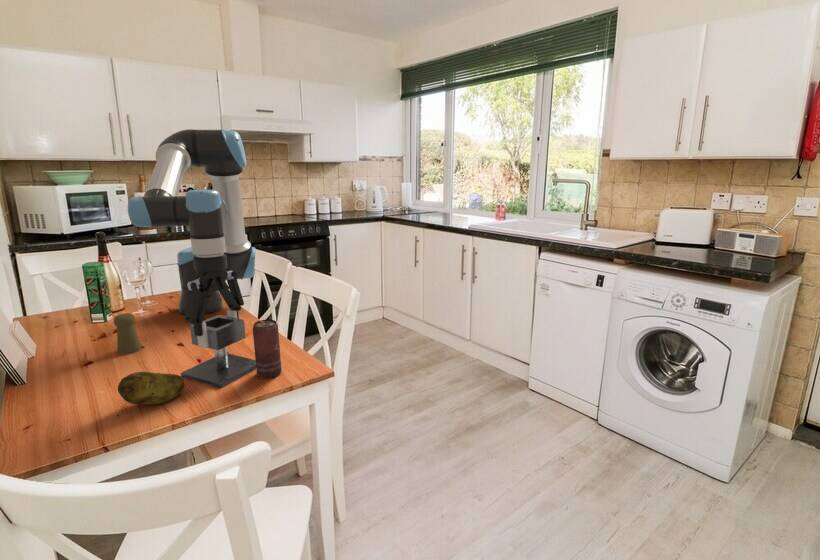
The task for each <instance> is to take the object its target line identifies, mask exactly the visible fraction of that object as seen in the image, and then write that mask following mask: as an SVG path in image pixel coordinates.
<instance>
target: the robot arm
mask: <svg viewBox="0 0 820 560" xmlns="http://www.w3.org/2000/svg"><path fill="white" fill-rule="evenodd" d="M155 160H156V163H155V166H154V168H153V171H152V173H151V176H150V178H149V182H148V184H147V187H146V190H145V191H144V192H145V193H144V195H143V196H141V195H139V196H133V197H131V198H129V199H128V202H127V215H128V217H129V220H130V223H131V224H132V225H133V226H134V227H137V228H150V229H151V228H160V227H163V228H164V227H186V226H187V227H188V228H189V234H190V235H189V237H190V245H191V247H187V248H184V249H181V250H180V251H179V252H178V253H177V256H176V257H177V267H178V268H177V269H178V273H179V276H178V277H179V281H180V288H181V292H180V295H179V296H180V297H179V303H178V305H177V307H178V312H179V313H180V314H183V315H184V322H185V323H189V324H191V325H194V333H195V335H196V336H197V338H198V345H197V346H198V347H200V348H204V349H209V348H208V347H209V345H208V336H207V328H206V322H203V321H204V320H205V318H204V317H205V315H206V314H211V313H215V312H218V311H219V310H222V308H223V307H224V302H225V304H226V306H227V307H228V308H229V309H227V310H226V316H227V317H232V318H237V319H240V316H239V311H241V310H242V307H243V306H244V304H245V302H244V298H243V295H242V291H241V289H240V285H239V282H238V280H244V279H251V278H253V277H254V276H255V272H256V271H255V266H256V247H254V246H252V243H251V242H250V241H249V240H248V239H247V238H246V229H245V222H244V211H243V202H242V195H241V194H242V193H241V185H240V178H239V177H240V176H241V175H242V174H243V173H244V172H243V171H244V170H243V169H244V168H246V167H247V158H246V152H245V148H244V144H243V141H242V137H241V135H240V134H239V132H237V131H235V130H229V129H228V130H226V129H183V130H179V131H176V132H174V133H172V134H171V135H169V136H167V137H166V138H164V140H163V141H161V143H160V144H159V145H158V146H157V149H156V151H155ZM189 168H204V171H205V172H204V173H205V174H206V176H208V177H209V178H211V183H212V184H211V186H212V189H194V190H193V189H191V190H188V191H186V193H185V195H183V196H182V195H181V196H179V193H180V190H181V187H182V184H183V178H184V175H185V172H186V171H188V170H189Z"/></svg>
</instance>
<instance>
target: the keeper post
mask: <svg viewBox="0 0 820 560" xmlns="http://www.w3.org/2000/svg"><path fill="white" fill-rule="evenodd" d="M213 350H214V357H211V358H210V359H207V360H205V361H203V362H201V363H199V364H197V365H195V366H192V367H190V368H188V369H186V370H185V371H182V372H180V376H181V377H182V378H183V379H184V378H185V379H188V380H192V381H194V382H199V383H203V384H205V385H209V386H212V387H216V388H219V389H222V388H224V387H226V386H228V385H229V384H232V383H233V382H235V381H237V380H239V379H240V378H243V377H244V376H246V375H247V373H248V374H249V373H251V372H252V371H254V369H255V370H256V359H252V358H249V357H244V356H241V355H240V356H239V355H236V354H231V353H228V346H227V347H224V348H222V349H220V350H215V349H213ZM245 374H246V375H245Z"/></svg>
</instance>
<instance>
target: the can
mask: <svg viewBox="0 0 820 560" xmlns="http://www.w3.org/2000/svg"><path fill="white" fill-rule="evenodd" d="M252 335H253V337H252V338H253V347H254V348H253V349H254V357H255V358H254V360H256V369H255V371H256V375H257V376H258V377H259V378H260V377H262V378H261V379H272V378H271V377H273V378H276V377H278V376H279V375H280V374H281V372H282V361H281V360H282V358H281V348H280V347H281V345H280V344H281V343H280V336H279V335H280V332H279V324H278V322H277V321H276V320H274V319H261V320H260V319H259V320H257V321H256V322H254V323H253V326H252ZM277 375H278V376H277ZM275 376H276V377H275Z"/></svg>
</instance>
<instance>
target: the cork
mask: <svg viewBox="0 0 820 560" xmlns="http://www.w3.org/2000/svg"><path fill="white" fill-rule="evenodd" d="M135 323H136V317H135V315H134V314H133V313H131V312H129V313H128V312H125V313H121V314H117V315H115V316H114V318H113V324H114V326H115V327H116V333H117V335H116V336H117V337H116V341H117V343H116V344H117V346H116V347H117V354H118V355H131V354H135V353H137V352H139V351H141V350H142V348H143V347H142V345H141V344H142V343H141V342H140V339H139V336H138V332H137V330H136V327H135Z"/></svg>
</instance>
